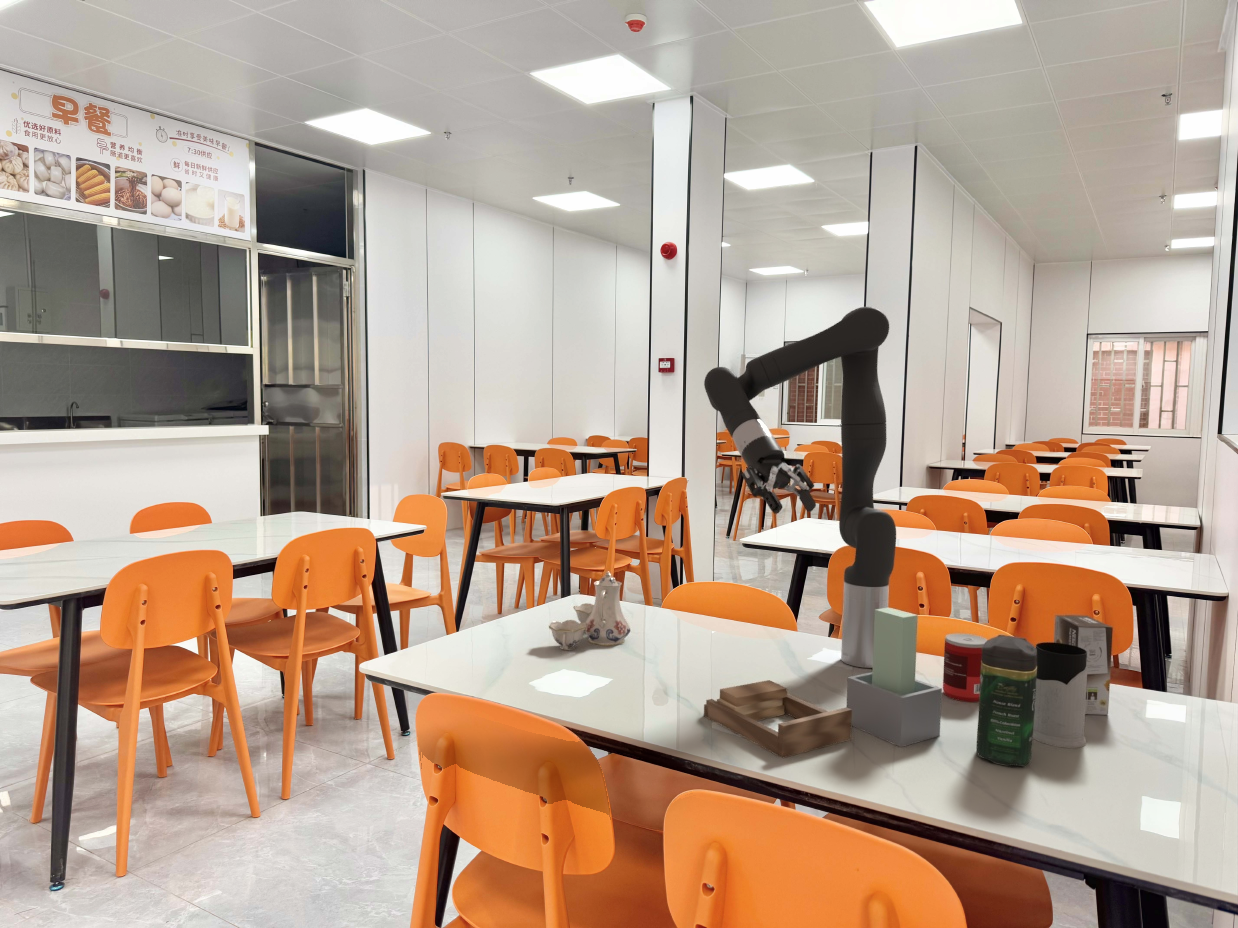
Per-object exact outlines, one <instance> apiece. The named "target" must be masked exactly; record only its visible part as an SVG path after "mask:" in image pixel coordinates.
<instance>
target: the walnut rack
mask: <svg viewBox="0 0 1238 928" xmlns="http://www.w3.org/2000/svg"><path fill="white" fill-rule="evenodd" d="M782 705H784V714H787V715H789V716H791V717H794V719H792V720H788V721H787V720H786V721H785V722H780V723H778V724H777V725H778V726H777V730H776V729H773V728H771V727H769V726H767V725H765V724H764V723H762V722H759V721H755V720H753V719H751V718H749V717H747V716H745V715H743V714H741V713H739V712H737V711H735V710H733V709H731V708H729V707H727V706H725V705H723V704H721V703H719V702H717V700H715V699H713V698H710V699H709V698H708V699H706V700H705V704H703V717H705V718H707V719H709V720H710V721H713V722H714V723H717V724H718V725H721V726H722V727H724V728H726V729H728V731H729V730H730V731H731V732H733V733H736V734H737V735H739V736H741V737H743V738H745V739H746V740H748V741H750V742H752V743H754V744H756V745H757V746H759V747H761V748H763V749H765V750H766V751H769V752H771V753H773V754H775V755H776V756H778V757H780V758H782V759H784V758H787V757H791V756H795V755H798V754H802V753H807V752H810V751H814V750H817V749H821V748H825V747H828V746H832V745H835V744H840V743H843V742H846V741H851V739H852V725H851V722H852V709H849V708H847V706H846V707H843V708H839V709H833V710H830V711H827V710H826V709H823V708H821V707H819V706H816V705H815V704H813V703H809V702H808V701H805V700H803V699H801V698H797V697H796V696H794V695H791V694H789V693H787V697H784V698H783V702H782ZM795 718H796V719H795Z"/></svg>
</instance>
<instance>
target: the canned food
mask: <svg viewBox="0 0 1238 928" xmlns="http://www.w3.org/2000/svg"><path fill="white" fill-rule="evenodd" d="M987 640H988V639H987V638H985V637H983V636H980V635H976V634H971V633H948V634H946V635H945V638H944V651H943V675H942V676H943V677H942V692H943V693H944V695H945V696H947V697H948V698H949V699H953V700H956V701H958V702H959V701H960V702H966V703H975V702H976V703H977V702H978V703H979V695H980V676H981V660H982V659H981V658H982V648H983V645H984V644H985V642H986V641H987Z"/></svg>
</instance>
